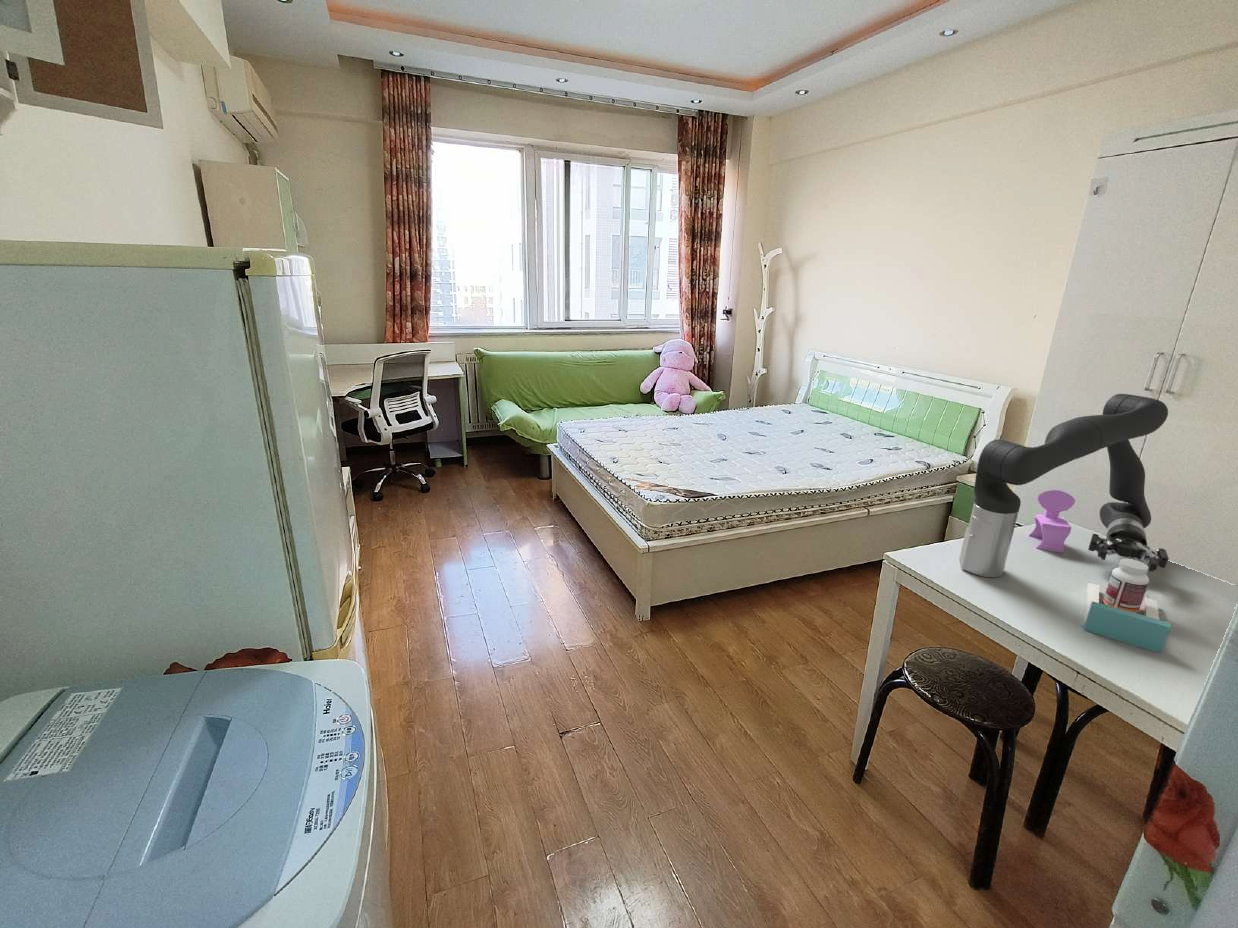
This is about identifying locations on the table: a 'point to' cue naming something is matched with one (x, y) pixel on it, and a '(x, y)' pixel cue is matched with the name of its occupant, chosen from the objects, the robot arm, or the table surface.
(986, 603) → the table surface
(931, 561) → the table surface
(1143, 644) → the guide
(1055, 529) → the toy chair
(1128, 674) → the table surface
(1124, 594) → the pill bottle
